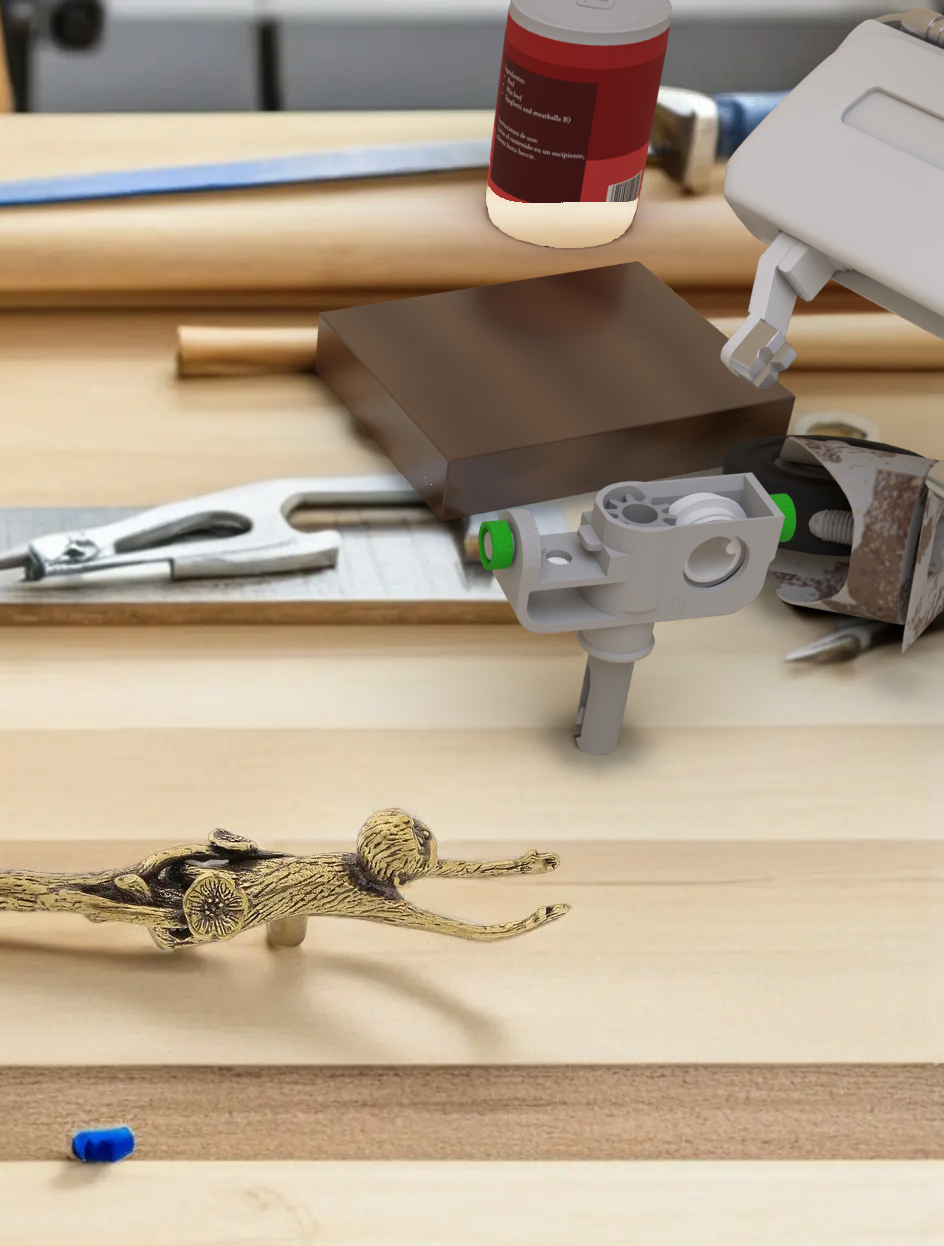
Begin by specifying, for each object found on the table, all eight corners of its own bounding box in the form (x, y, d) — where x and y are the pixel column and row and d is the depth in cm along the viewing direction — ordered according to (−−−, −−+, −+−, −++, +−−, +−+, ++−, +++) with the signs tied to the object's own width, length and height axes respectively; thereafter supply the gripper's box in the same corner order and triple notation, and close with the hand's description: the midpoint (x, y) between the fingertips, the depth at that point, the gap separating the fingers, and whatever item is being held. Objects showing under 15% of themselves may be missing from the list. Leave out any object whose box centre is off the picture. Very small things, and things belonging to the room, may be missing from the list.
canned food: (628, 189, 109) (665, -26, 101) (641, 258, 102) (681, 35, 95) (480, 181, 109) (507, -34, 102) (484, 250, 103) (512, 27, 96)
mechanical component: (443, 734, 74) (475, 494, 68) (715, 704, 76) (773, 467, 69) (468, 787, 72) (504, 545, 65) (747, 756, 73) (810, 516, 67)
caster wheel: (749, 528, 89) (992, 572, 84) (652, 606, 80) (917, 659, 75) (770, 373, 86) (1023, 408, 81) (672, 436, 78) (948, 480, 73)
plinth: (628, 319, 98) (638, 260, 96) (781, 458, 89) (797, 396, 87) (313, 372, 94) (318, 312, 92) (440, 525, 84) (448, 461, 82)
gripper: (856, -62, 72) (594, 266, 74) (1395, 151, 58) (1053, 542, 61) (916, 44, 76) (667, 349, 79) (1427, 263, 63) (1109, 622, 65)
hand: (839, 435), depth 70 cm, fingers open, 8 cm apart
